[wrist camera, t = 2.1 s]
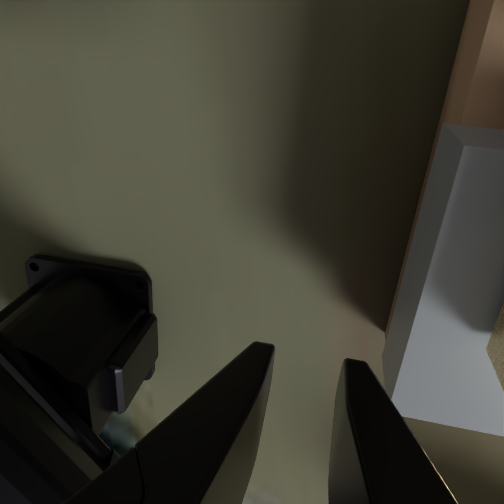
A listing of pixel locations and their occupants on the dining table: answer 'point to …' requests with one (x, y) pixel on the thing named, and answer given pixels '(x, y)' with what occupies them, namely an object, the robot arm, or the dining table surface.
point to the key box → (471, 86)
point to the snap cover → (452, 289)
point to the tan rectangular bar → (497, 347)
